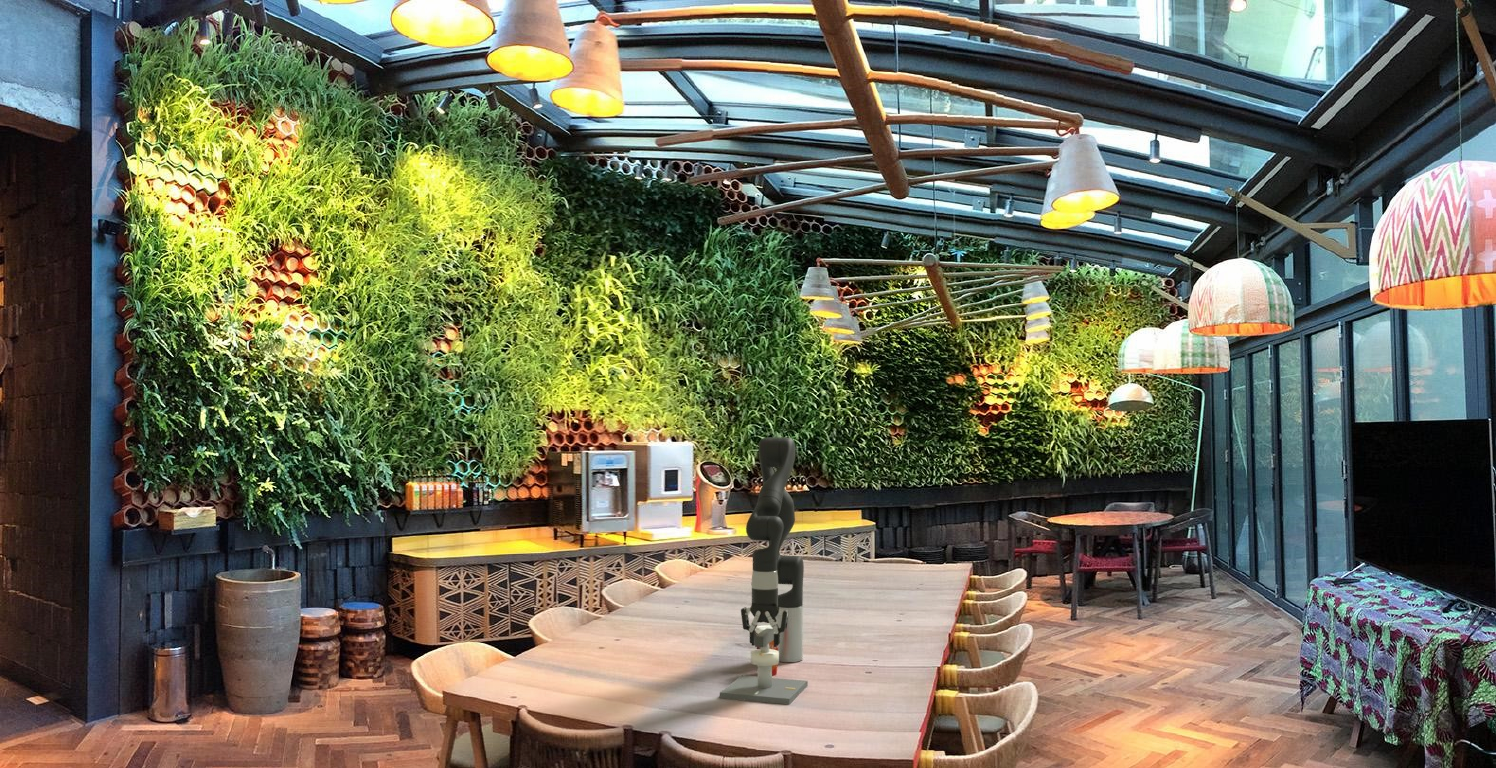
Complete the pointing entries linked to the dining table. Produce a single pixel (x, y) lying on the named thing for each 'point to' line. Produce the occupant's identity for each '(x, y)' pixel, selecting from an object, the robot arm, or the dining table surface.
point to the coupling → (764, 650)
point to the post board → (764, 688)
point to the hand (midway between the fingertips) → (764, 645)
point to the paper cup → (771, 645)
